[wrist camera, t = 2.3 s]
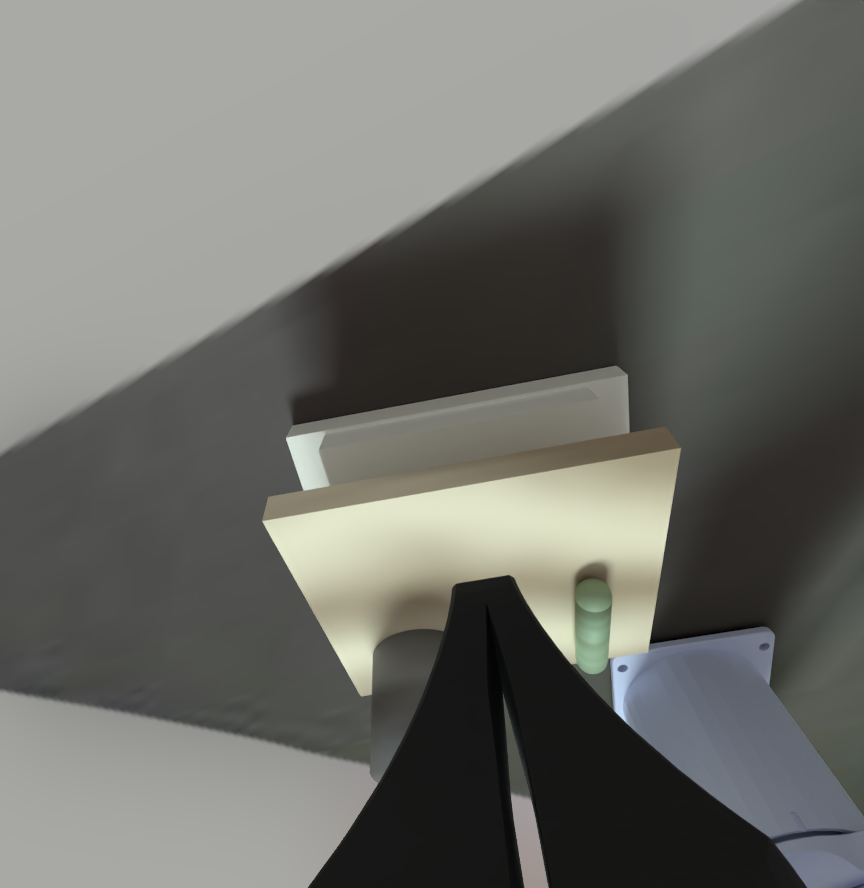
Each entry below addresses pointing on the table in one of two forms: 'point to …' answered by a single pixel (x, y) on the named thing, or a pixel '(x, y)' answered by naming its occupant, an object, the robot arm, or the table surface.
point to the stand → (461, 428)
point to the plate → (481, 558)
